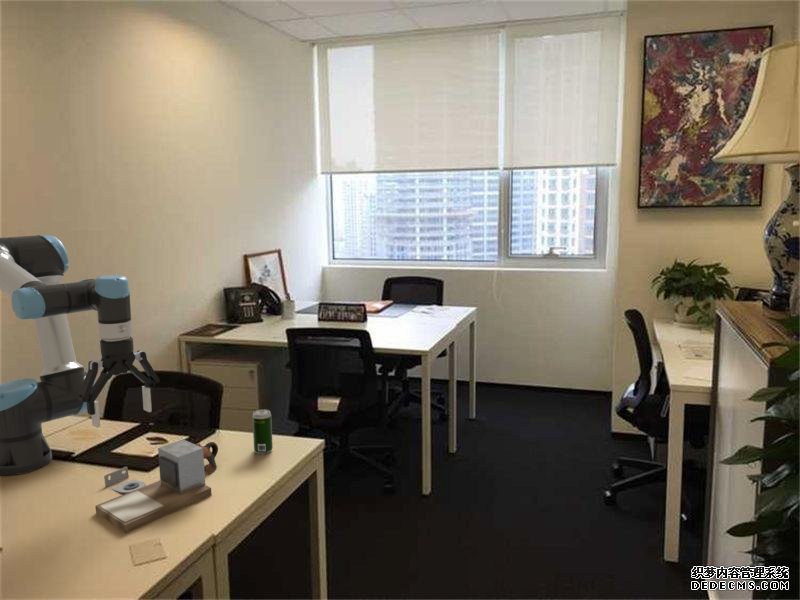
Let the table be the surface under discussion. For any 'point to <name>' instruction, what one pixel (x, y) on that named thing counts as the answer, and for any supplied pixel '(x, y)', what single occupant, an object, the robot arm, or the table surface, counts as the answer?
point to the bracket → (123, 487)
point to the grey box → (181, 466)
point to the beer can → (262, 431)
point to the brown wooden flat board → (147, 505)
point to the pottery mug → (210, 455)
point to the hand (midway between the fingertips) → (122, 418)
